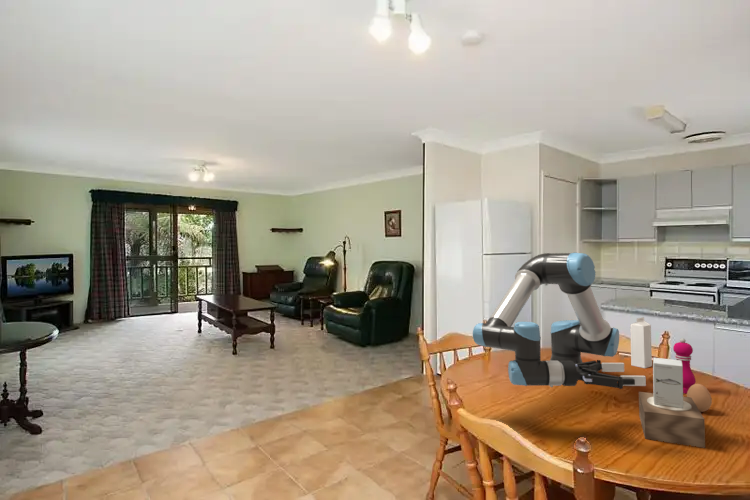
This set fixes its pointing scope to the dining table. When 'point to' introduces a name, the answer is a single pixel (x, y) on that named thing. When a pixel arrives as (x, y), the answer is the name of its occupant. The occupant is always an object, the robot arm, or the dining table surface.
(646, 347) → the milk
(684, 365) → the pepper mill
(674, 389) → the supplement box
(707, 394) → the egg
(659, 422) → the walnut riser
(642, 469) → the dining table surface
